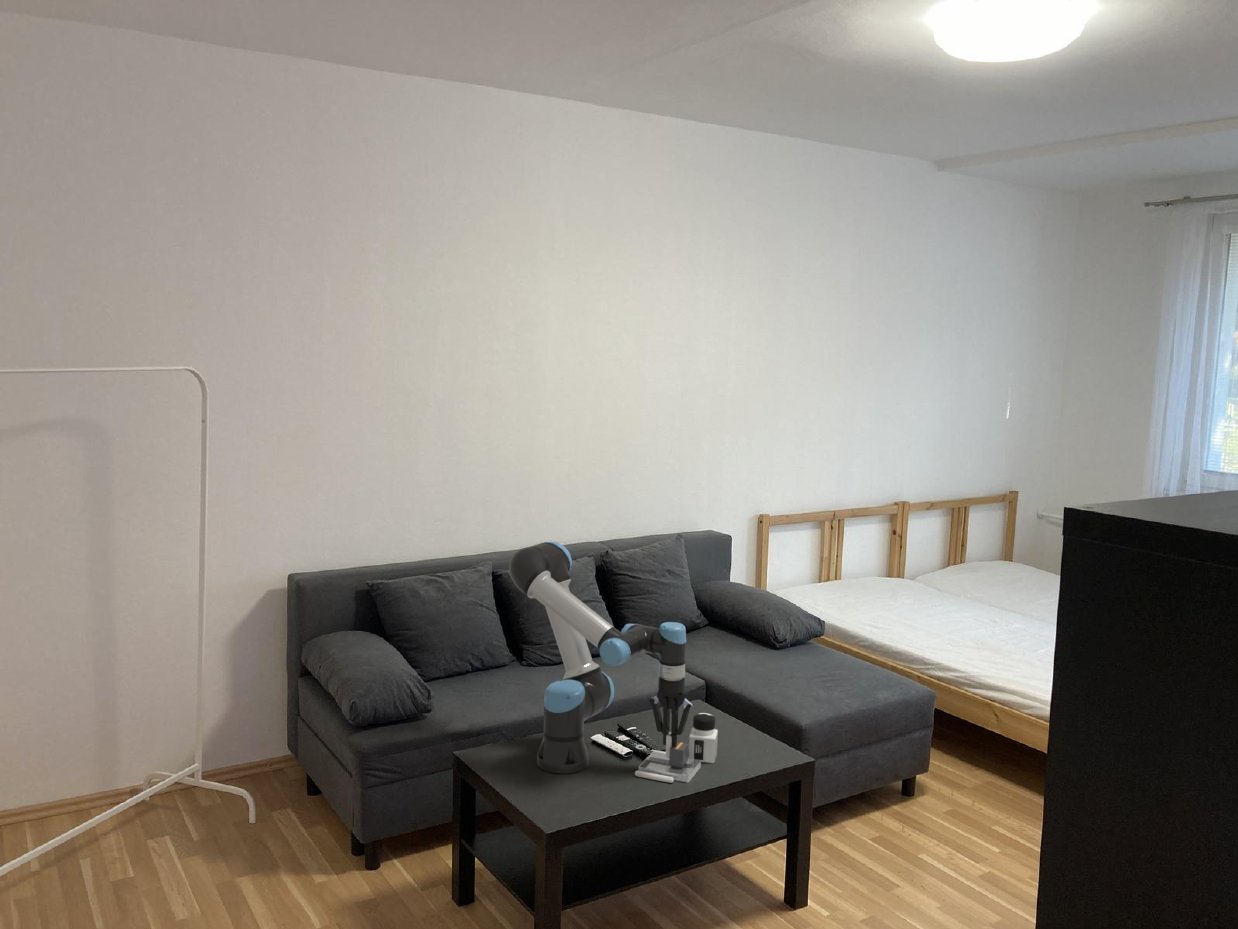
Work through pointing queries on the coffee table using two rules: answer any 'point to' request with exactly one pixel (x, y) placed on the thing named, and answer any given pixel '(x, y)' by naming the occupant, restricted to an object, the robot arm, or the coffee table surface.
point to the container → (703, 738)
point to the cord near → (654, 776)
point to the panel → (670, 767)
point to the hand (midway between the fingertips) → (669, 756)
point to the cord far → (658, 751)
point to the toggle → (678, 755)
